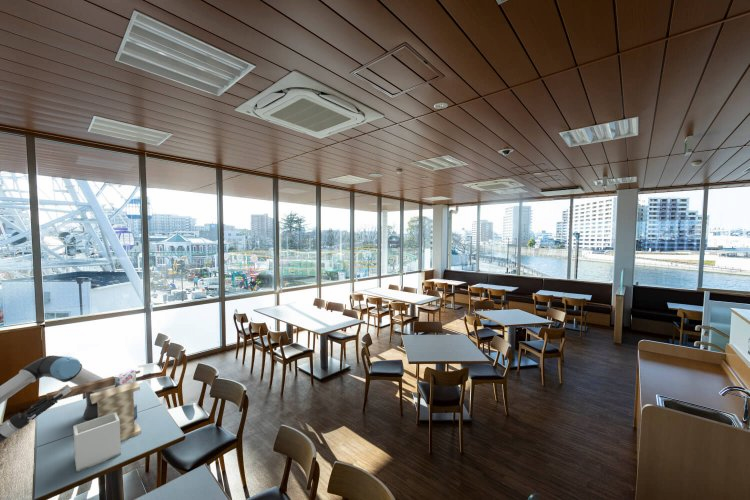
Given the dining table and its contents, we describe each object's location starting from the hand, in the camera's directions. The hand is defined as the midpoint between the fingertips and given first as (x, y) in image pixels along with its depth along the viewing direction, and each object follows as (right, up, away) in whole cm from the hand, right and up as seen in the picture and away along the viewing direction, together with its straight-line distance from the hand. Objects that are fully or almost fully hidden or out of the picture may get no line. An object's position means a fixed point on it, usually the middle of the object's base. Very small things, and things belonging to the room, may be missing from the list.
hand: (69, 387), depth 171 cm
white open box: (+16, -39, 0) cm, 42 cm away
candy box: (-25, -36, +68) cm, 81 cm away
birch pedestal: (+13, -38, +16) cm, 44 cm away
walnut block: (+3, -5, +4) cm, 7 cm away
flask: (+8, -38, +34) cm, 52 cm away
